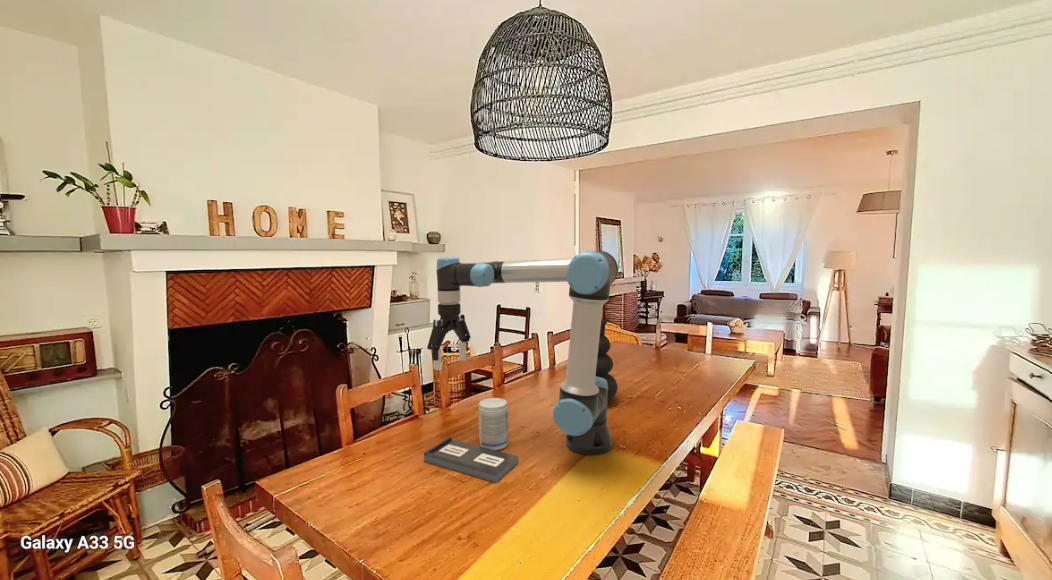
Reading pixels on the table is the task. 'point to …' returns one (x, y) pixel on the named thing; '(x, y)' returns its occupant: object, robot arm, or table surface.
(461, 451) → the label
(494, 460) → the label
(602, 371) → the vase
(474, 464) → the label board
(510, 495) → the table surface
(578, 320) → the robot arm
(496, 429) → the supplement tub
